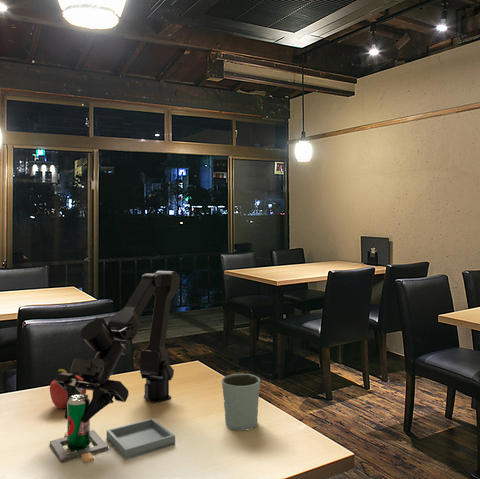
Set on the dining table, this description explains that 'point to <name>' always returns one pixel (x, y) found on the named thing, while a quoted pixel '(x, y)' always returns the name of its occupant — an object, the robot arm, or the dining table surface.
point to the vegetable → (60, 393)
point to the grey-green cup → (241, 400)
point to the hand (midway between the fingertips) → (74, 420)
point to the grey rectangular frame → (84, 454)
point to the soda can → (77, 422)
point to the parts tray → (140, 438)
